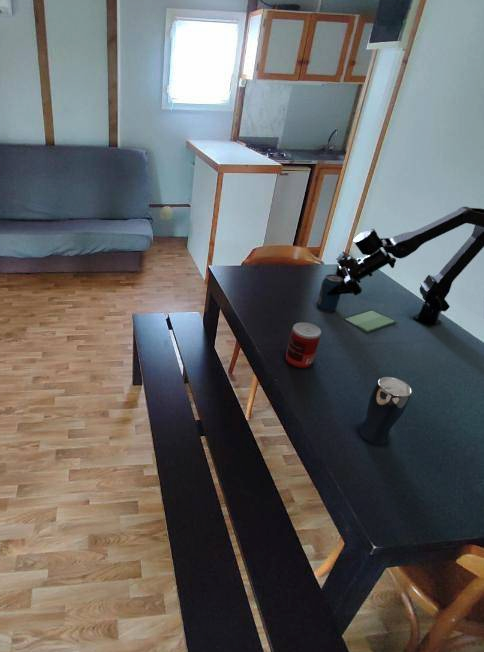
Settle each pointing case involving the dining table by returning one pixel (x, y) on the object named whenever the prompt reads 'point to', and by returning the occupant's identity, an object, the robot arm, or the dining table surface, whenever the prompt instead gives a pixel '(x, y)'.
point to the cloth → (370, 321)
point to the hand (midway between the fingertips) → (326, 289)
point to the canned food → (303, 345)
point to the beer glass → (384, 409)
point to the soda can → (324, 299)
